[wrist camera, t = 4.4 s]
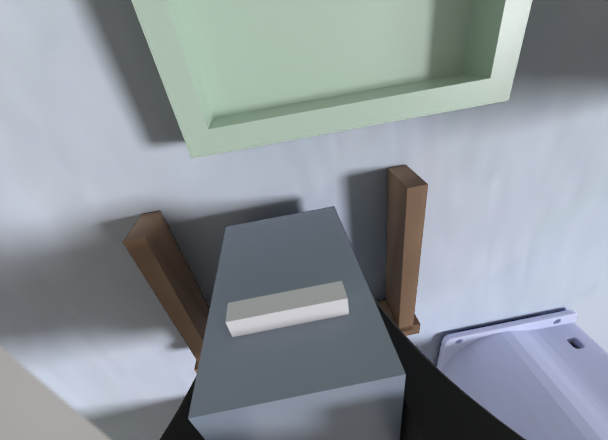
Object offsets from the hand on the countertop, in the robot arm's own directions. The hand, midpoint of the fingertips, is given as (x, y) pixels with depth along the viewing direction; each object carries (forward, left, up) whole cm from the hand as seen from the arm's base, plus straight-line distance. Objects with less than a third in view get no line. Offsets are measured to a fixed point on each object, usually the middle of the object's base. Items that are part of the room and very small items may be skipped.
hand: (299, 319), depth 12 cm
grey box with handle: (0, 0, -2) cm, 2 cm away
